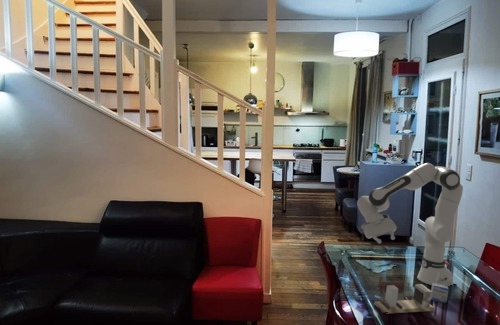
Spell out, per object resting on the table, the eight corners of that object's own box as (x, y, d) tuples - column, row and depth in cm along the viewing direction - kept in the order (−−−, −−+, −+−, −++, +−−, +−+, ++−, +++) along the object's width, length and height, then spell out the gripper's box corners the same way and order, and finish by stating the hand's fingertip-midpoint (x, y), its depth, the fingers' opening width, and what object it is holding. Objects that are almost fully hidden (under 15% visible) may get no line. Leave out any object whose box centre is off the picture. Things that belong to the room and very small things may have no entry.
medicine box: (430, 300, 203) (433, 285, 202) (429, 296, 207) (432, 282, 206) (446, 303, 200) (449, 289, 199) (445, 299, 204) (447, 285, 203)
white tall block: (391, 302, 192) (394, 285, 191) (396, 307, 188) (399, 289, 187) (384, 303, 191) (387, 285, 190) (388, 307, 188) (391, 289, 186)
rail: (423, 302, 199) (426, 283, 197) (433, 310, 192) (436, 291, 190) (373, 305, 193) (376, 285, 191) (382, 313, 185) (385, 293, 183)
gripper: (361, 221, 212) (374, 242, 204) (390, 214, 218) (403, 234, 210) (357, 227, 216) (369, 247, 209) (386, 219, 223) (398, 239, 215)
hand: (387, 240), depth 209 cm, fingers open, 8 cm apart
